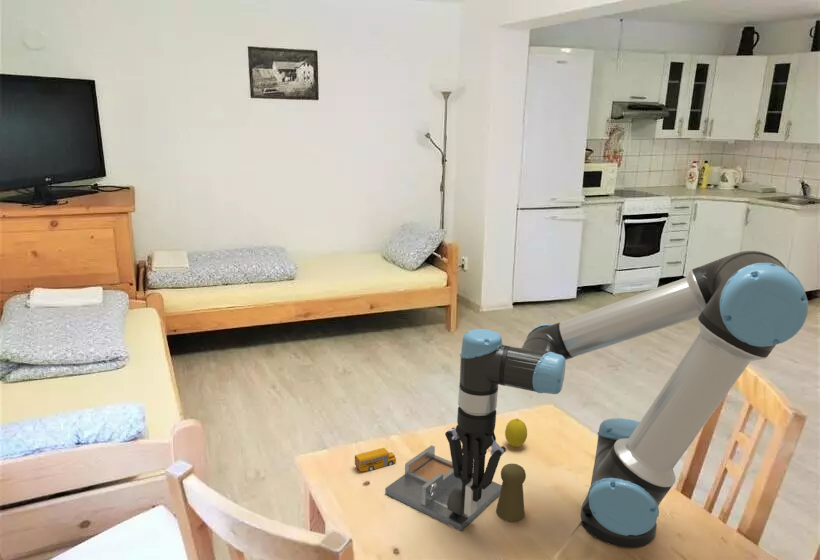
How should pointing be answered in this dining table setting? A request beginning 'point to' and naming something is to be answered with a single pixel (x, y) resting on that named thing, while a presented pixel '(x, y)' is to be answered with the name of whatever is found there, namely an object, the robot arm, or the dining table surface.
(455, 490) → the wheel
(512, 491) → the olive brown pawn
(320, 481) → the dining table surface
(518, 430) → the lemon
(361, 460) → the toy bus
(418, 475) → the plate
